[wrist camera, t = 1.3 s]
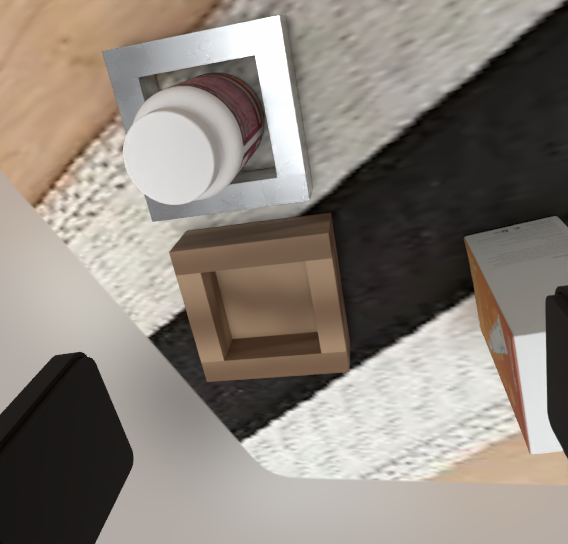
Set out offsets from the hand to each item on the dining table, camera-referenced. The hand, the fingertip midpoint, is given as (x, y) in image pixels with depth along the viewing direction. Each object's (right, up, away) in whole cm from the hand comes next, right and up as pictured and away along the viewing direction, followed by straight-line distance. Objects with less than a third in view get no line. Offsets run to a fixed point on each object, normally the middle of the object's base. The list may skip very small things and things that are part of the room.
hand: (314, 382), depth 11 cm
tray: (-2, +1, +30) cm, 30 cm away
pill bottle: (-5, +13, +25) cm, 28 cm away
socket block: (-5, +13, +24) cm, 28 cm away
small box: (+16, +2, +27) cm, 31 cm away
